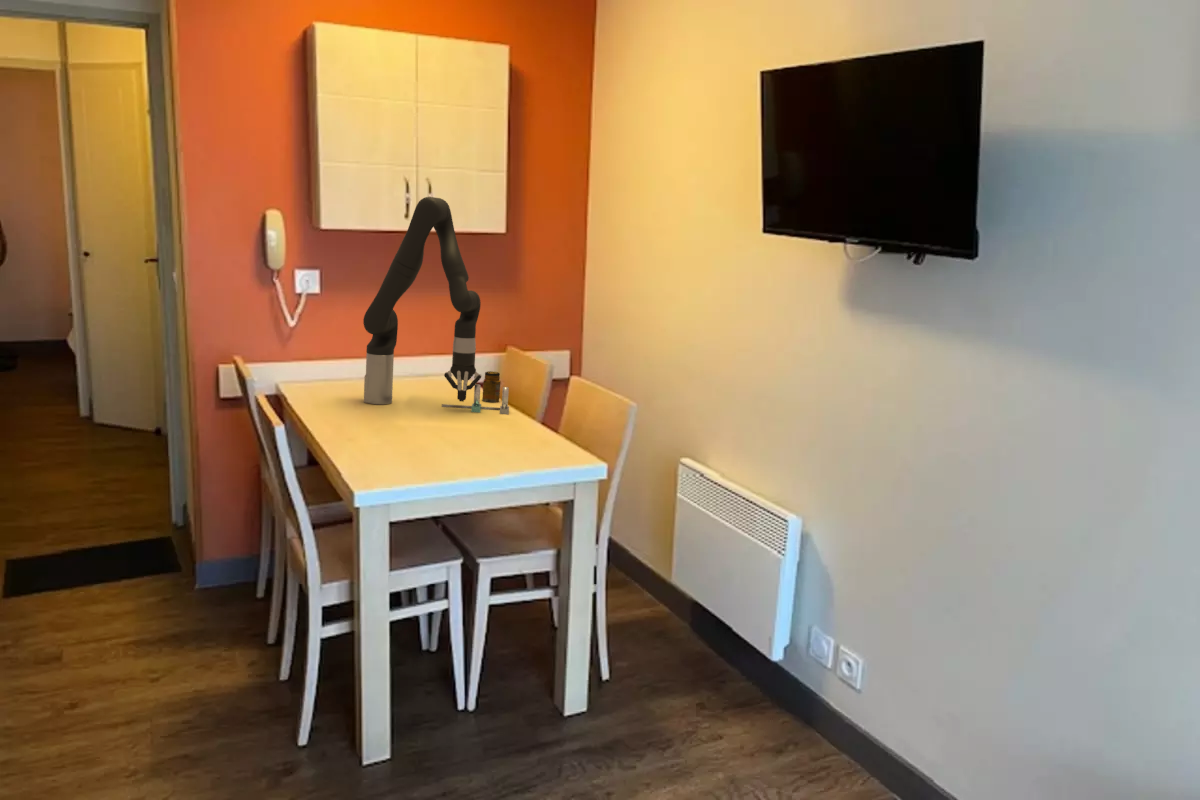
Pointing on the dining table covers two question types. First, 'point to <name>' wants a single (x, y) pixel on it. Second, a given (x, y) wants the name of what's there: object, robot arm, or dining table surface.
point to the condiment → (491, 387)
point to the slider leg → (476, 399)
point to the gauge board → (469, 407)
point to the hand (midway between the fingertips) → (461, 401)
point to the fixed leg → (504, 401)
